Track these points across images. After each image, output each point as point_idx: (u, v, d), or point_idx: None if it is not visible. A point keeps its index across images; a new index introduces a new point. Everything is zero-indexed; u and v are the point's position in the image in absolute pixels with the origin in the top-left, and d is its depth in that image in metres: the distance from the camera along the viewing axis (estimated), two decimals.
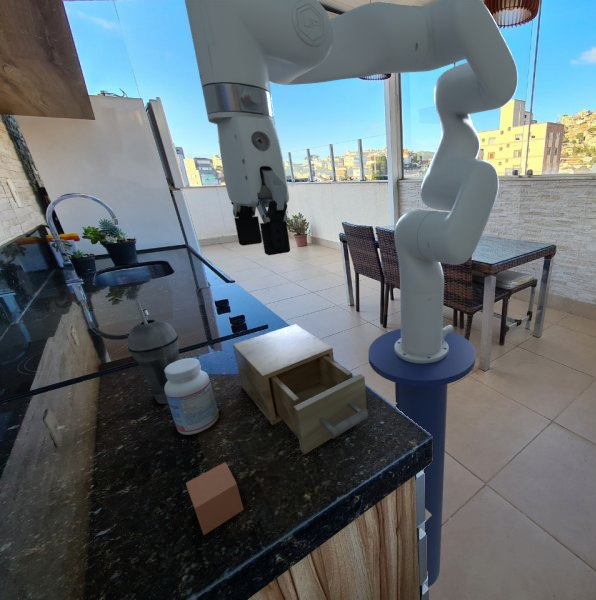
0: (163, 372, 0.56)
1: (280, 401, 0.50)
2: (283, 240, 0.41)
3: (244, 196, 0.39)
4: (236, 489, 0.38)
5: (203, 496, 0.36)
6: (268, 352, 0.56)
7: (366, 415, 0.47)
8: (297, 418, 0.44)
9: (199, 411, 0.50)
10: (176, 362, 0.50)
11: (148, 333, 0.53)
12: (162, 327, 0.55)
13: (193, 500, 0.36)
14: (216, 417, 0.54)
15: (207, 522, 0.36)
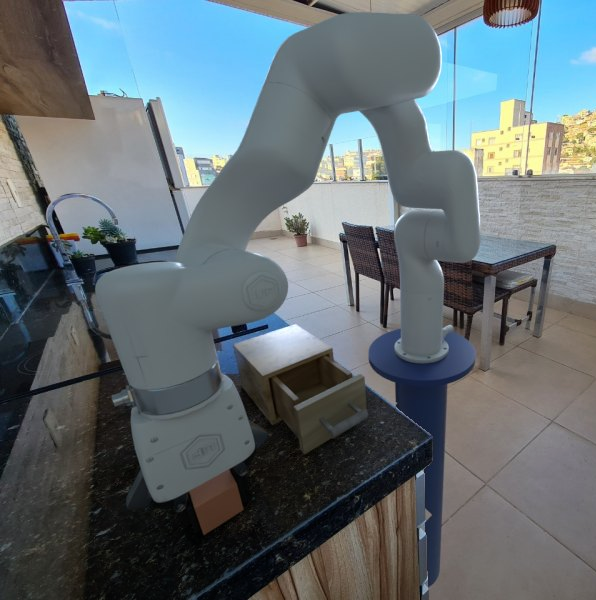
0: None
1: (280, 401, 0.50)
2: None
3: None
4: (236, 489, 0.38)
5: (203, 496, 0.36)
6: (268, 352, 0.56)
7: (366, 415, 0.47)
8: (297, 418, 0.44)
9: None
10: None
11: None
12: None
13: (193, 500, 0.36)
14: None
15: (207, 522, 0.36)
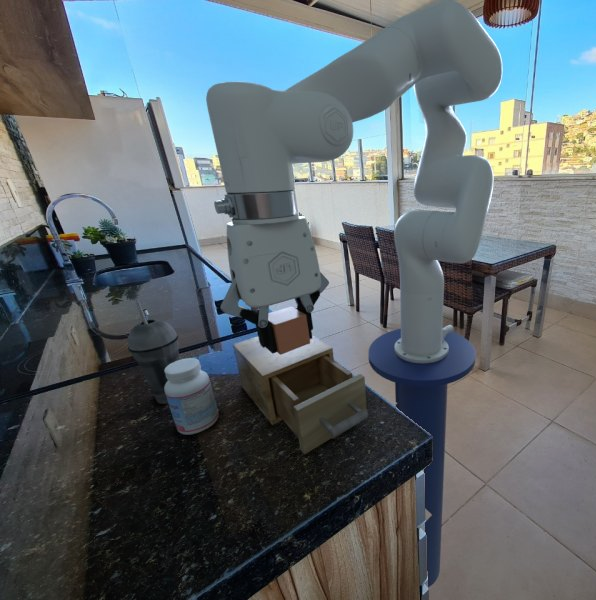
0: (163, 372, 0.56)
1: (280, 401, 0.50)
2: (262, 342, 0.41)
3: None
4: (305, 320, 0.43)
5: (279, 320, 0.41)
6: (268, 352, 0.56)
7: (366, 415, 0.47)
8: (297, 418, 0.44)
9: (199, 411, 0.50)
10: (176, 362, 0.50)
11: (148, 333, 0.53)
12: (162, 327, 0.55)
13: (271, 322, 0.41)
14: (216, 417, 0.54)
15: (283, 343, 0.42)
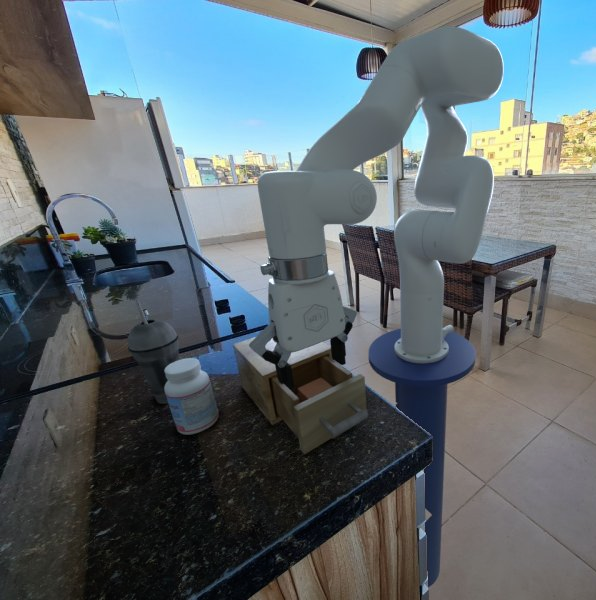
0: (163, 372, 0.56)
1: (280, 401, 0.50)
2: (281, 379, 0.46)
3: None
4: None
5: (313, 395, 0.50)
6: None
7: (366, 415, 0.47)
8: (297, 418, 0.44)
9: (199, 411, 0.50)
10: (176, 362, 0.50)
11: (148, 333, 0.53)
12: (162, 327, 0.55)
13: (307, 396, 0.49)
14: (216, 417, 0.54)
15: None
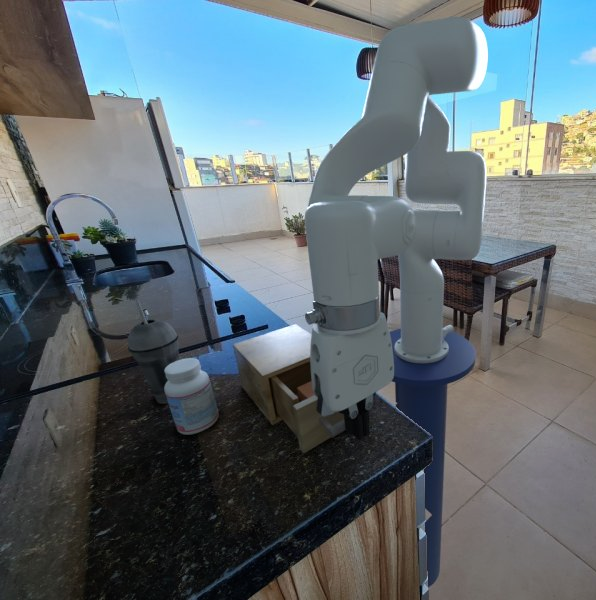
0: (163, 372, 0.56)
1: (279, 400, 0.50)
2: (350, 429, 0.42)
3: None
4: None
5: (313, 394, 0.50)
6: (268, 352, 0.56)
7: None
8: (296, 417, 0.44)
9: (199, 411, 0.50)
10: (176, 362, 0.50)
11: (148, 333, 0.53)
12: (162, 327, 0.55)
13: (307, 396, 0.50)
14: (216, 417, 0.54)
15: None
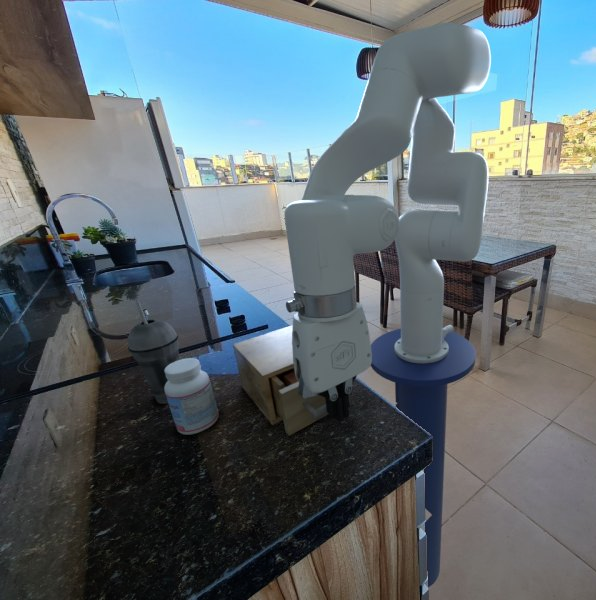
0: (163, 372, 0.56)
1: None
2: (331, 412, 0.46)
3: None
4: None
5: None
6: (268, 352, 0.56)
7: None
8: (281, 401, 0.47)
9: (199, 411, 0.50)
10: (176, 362, 0.50)
11: (148, 333, 0.53)
12: (162, 327, 0.55)
13: (293, 383, 0.53)
14: (216, 417, 0.54)
15: None
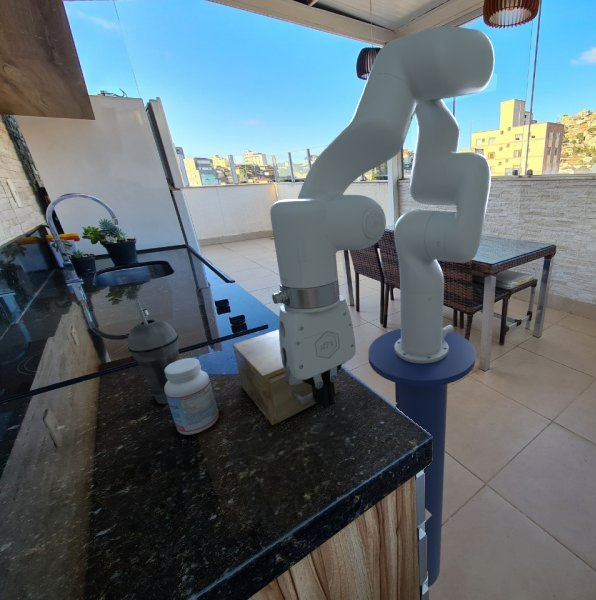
0: (163, 372, 0.56)
1: None
2: (317, 399, 0.48)
3: None
4: None
5: None
6: (268, 352, 0.56)
7: None
8: (271, 389, 0.50)
9: (199, 411, 0.50)
10: (176, 362, 0.50)
11: (148, 333, 0.53)
12: (162, 327, 0.55)
13: None
14: (216, 417, 0.54)
15: None
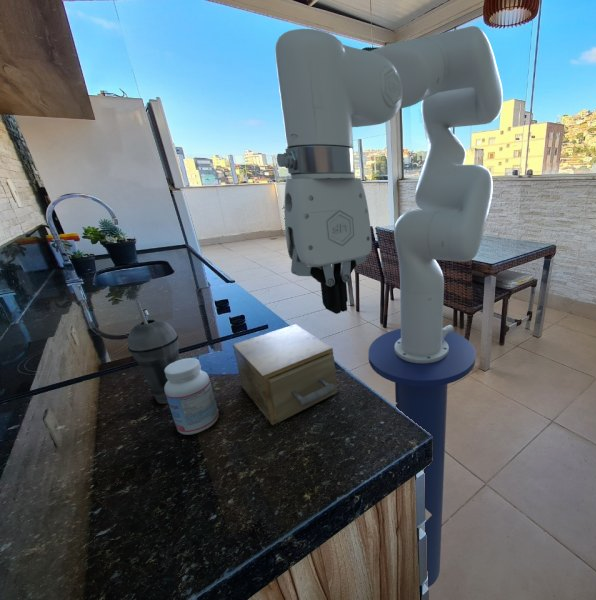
0: (163, 372, 0.56)
1: None
2: (327, 301, 0.42)
3: None
4: None
5: None
6: (268, 352, 0.56)
7: (333, 388, 0.53)
8: (271, 389, 0.50)
9: (199, 411, 0.50)
10: (176, 362, 0.50)
11: (148, 333, 0.53)
12: (162, 327, 0.55)
13: None
14: (216, 417, 0.54)
15: None
